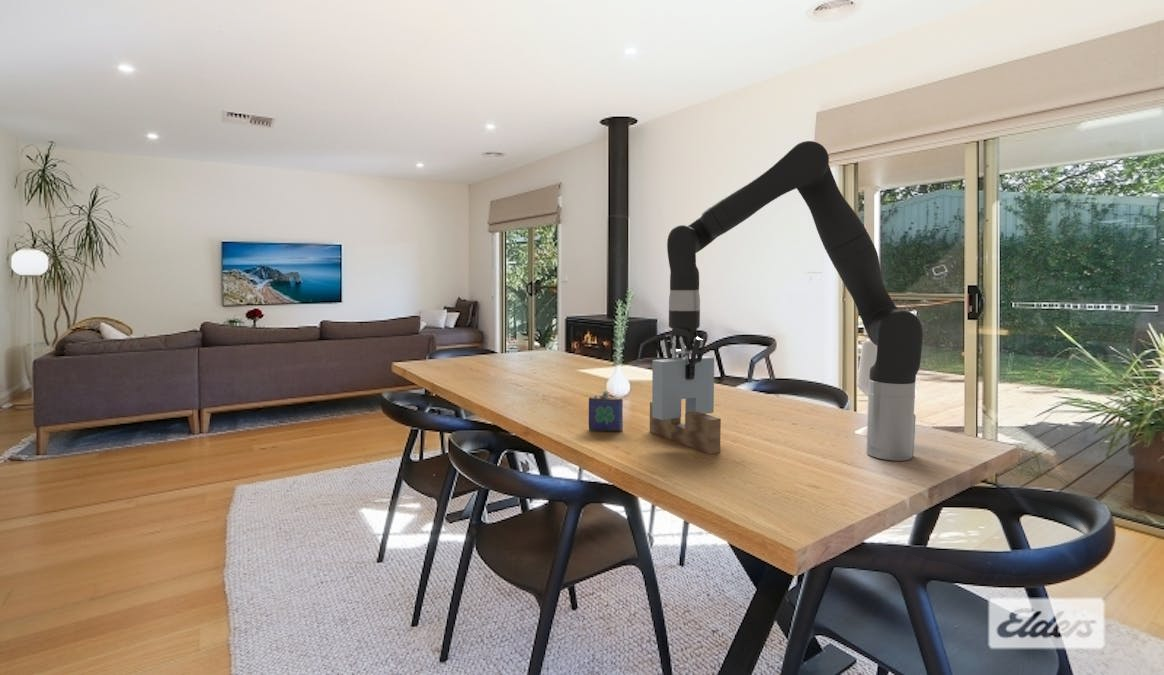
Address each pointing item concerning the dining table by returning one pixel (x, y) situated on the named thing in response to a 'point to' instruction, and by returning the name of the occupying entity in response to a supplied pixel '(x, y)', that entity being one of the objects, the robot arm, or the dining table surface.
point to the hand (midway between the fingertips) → (683, 377)
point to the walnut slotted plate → (690, 430)
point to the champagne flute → (866, 373)
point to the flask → (605, 413)
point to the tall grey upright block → (681, 387)
